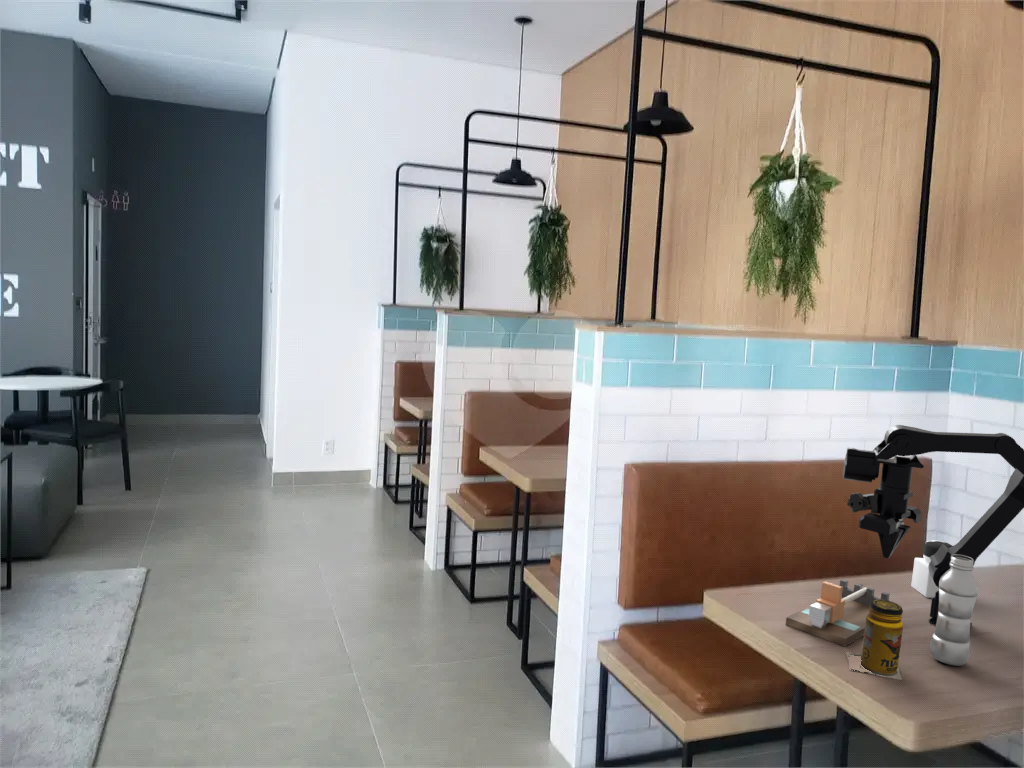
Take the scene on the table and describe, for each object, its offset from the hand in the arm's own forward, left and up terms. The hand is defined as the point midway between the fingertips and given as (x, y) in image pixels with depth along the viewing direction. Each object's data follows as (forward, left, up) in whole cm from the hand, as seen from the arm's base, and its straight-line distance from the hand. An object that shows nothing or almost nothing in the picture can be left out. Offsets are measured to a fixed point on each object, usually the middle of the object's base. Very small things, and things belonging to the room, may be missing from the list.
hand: (886, 557), depth 168 cm
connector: (+3, +22, -11) cm, 25 cm away
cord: (+3, +11, -9) cm, 14 cm away
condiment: (-10, +28, -12) cm, 32 cm away
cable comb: (+3, +2, -11) cm, 11 cm away
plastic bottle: (-18, +14, -12) cm, 26 cm away
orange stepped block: (+3, +18, -10) cm, 21 cm away
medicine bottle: (-3, -23, -12) cm, 26 cm away
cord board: (+3, +12, -12) cm, 17 cm away
